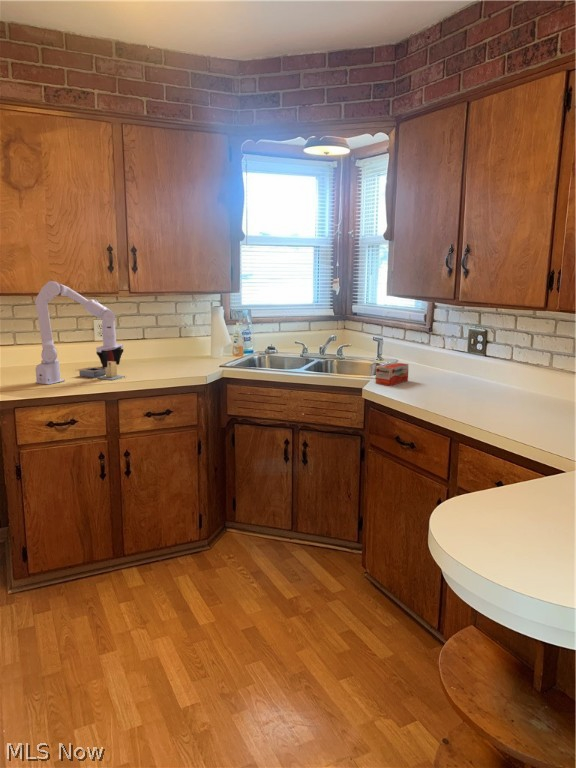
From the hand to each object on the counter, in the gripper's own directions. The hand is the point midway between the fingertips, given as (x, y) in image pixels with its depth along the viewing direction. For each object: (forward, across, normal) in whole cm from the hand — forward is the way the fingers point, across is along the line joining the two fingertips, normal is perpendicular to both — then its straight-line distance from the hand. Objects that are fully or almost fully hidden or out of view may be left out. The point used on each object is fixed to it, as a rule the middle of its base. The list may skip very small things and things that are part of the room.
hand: (111, 365), depth 251 cm
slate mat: (+6, 0, 0) cm, 6 cm away
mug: (+6, +21, +22) cm, 31 cm away
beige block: (+5, 0, 0) cm, 5 cm away
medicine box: (+6, +48, -118) cm, 128 cm away
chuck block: (+6, 0, +11) cm, 12 cm away
